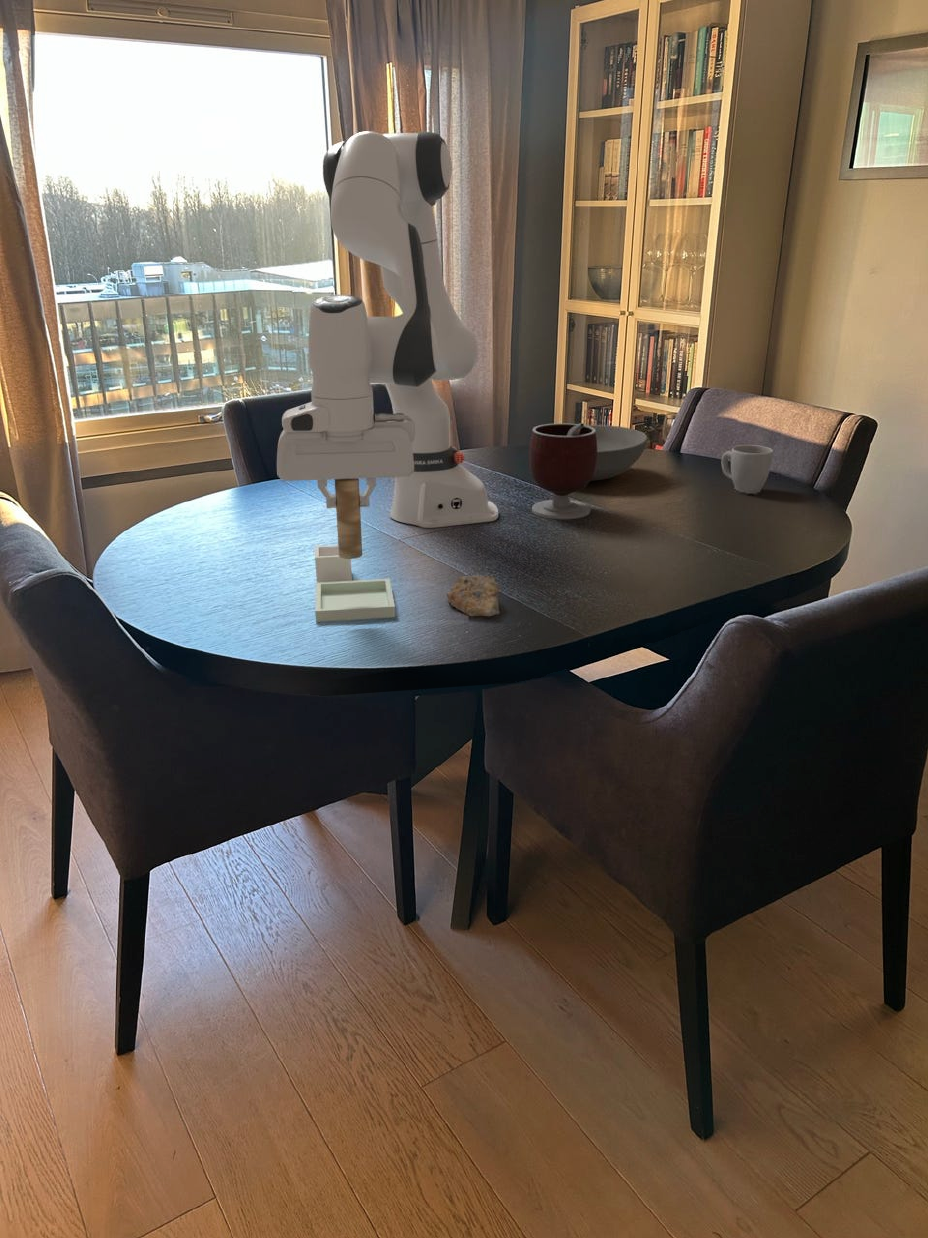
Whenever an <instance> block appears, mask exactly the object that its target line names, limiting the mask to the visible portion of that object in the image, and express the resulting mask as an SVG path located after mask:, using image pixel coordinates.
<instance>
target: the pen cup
mask: <svg viewBox="0 0 928 1238" xmlns="http://www.w3.org/2000/svg"><path fill="white" fill-rule="evenodd" d="M314 560H315V573H316V574H315V575H316V583H321V582H339V581H353V575H352V574H353V573H352V559H344V558H341V557H339V548H338V545H319V546H315V548H314Z"/></svg>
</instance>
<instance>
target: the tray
mask: <svg viewBox="0 0 928 1238" xmlns="http://www.w3.org/2000/svg"><path fill="white" fill-rule="evenodd" d="M391 584H392V583H391V578H376V579H361V580H360V579H359V580H352V581H339V582H321V583H317V582H315V597H314V598H315V604H314V605H315V606H314V607H315V609H314V610H315V622H316V623H320V622H333V621H335V622H336V621H350V620H351V621H353V620H367V619H383V618H384V619H386V618H387V619H388V618H396V604H395V601H394V595H393V590H392V585H391Z"/></svg>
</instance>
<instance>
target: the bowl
mask: <svg viewBox="0 0 928 1238" xmlns="http://www.w3.org/2000/svg"><path fill="white" fill-rule="evenodd" d="M585 425H586V426H590V427H592V428H594V429H595V430H596V432H595V433H596V439H597V461H596V466H595V471H594V475H593V478H592V479H591V480H590V482H591V481H601V480H606V479H607V480H608V479H611V478H614V477H617V476H619V475H621V474H622V473H625V472H626V471H627V470H629V469H630V468H631V467H632V466H634V464H636V462H637V461H638V460H639V459H640V457H641V456H642V454H643V453H644V450H646V446H647V443H648V440H649V439H648V436H647V434H645V433H644V432H643V431H640V430H637V429H633V428H630V427H629V428H628V427H624V426H616V425H606V424H605V425H604V424H603V425H602V424H585Z"/></svg>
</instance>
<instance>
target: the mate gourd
mask: <svg viewBox="0 0 928 1238" xmlns="http://www.w3.org/2000/svg"><path fill="white" fill-rule="evenodd" d="M586 425H587V424H584V423H583V422H581V423H566V422H565V423H564V422H563V423H562V422H561V423H546V424H540V425H537V426H534V427H533V428H532V433H531V436H530V441H529V442H530V443H529V450H528V452H529V453H528V455H529V456H528V458H529V459H528V460H529V461H528V462H529V468H530V473H531V477H532V478H533V481H534V482H535V483H536V485H537V486H538V487H539V488H540V489H542V490H545V491H547V492H549V493H552V494H554V495H555V496H554V497H553V499H547V500H542V501H539V502H538V501H537V502H536V503H534V504H532V507H531V512H532V513H533V514H534V515H535V516H539V517H541V518H545V519H551V520H552V519H553V520H573V519H579V518H584V517H587V516H588V515H589V514H590V513H591V507H590V506H589V505H588V504H586V503H584V502H581V501H577V500H571V499H570V498H569V495H571V494H573V493H575V492H578V491H581V490H584V489H585V488H586V487H587V486H588V484H589V483H590V482H591V481H590V480H591V479H592V478H593V475H594V471H595V466H596V461H597V439H596V433H595V432H596V430H595V429H594V428H592V427H590V426H586Z"/></svg>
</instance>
